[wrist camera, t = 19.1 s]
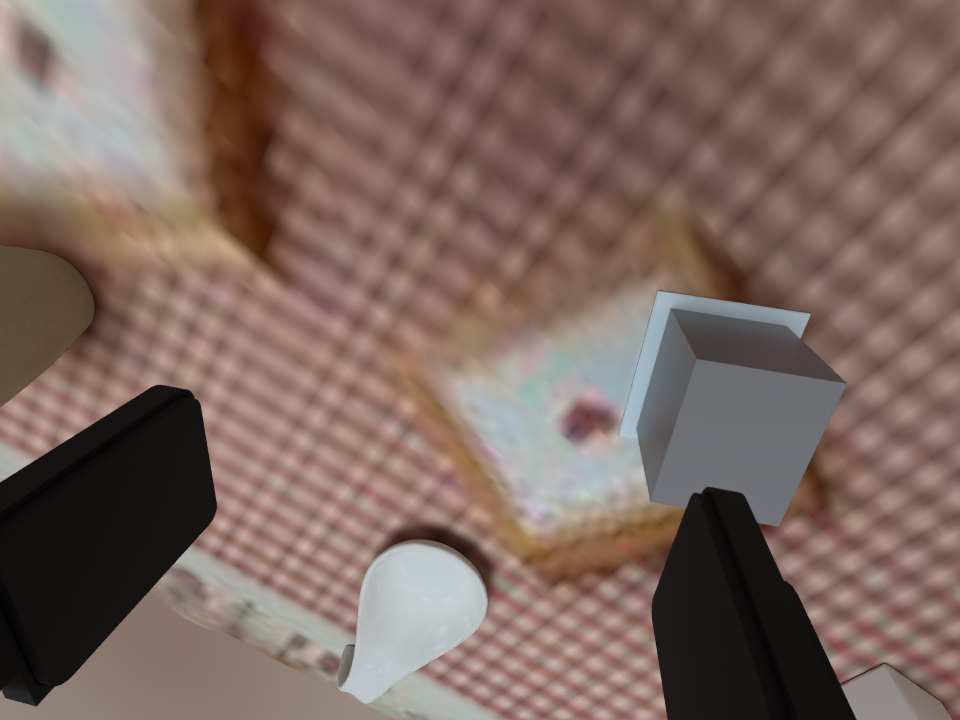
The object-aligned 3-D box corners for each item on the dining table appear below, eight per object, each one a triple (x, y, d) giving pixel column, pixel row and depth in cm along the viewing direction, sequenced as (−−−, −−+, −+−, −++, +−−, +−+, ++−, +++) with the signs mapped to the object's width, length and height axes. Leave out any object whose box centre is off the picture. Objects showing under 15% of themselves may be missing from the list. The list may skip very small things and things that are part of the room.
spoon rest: (407, 499, 47) (381, 558, 41) (515, 560, 48) (506, 627, 42) (321, 631, 58) (289, 694, 51) (410, 679, 59) (390, 747, 52)
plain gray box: (670, 307, 35) (696, 359, 27) (785, 324, 35) (847, 383, 27) (635, 427, 40) (650, 501, 32) (737, 445, 39) (778, 526, 31)
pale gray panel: (657, 290, 35) (657, 291, 35) (809, 313, 34) (810, 314, 34) (618, 434, 40) (618, 435, 40) (749, 458, 39) (749, 460, 39)
